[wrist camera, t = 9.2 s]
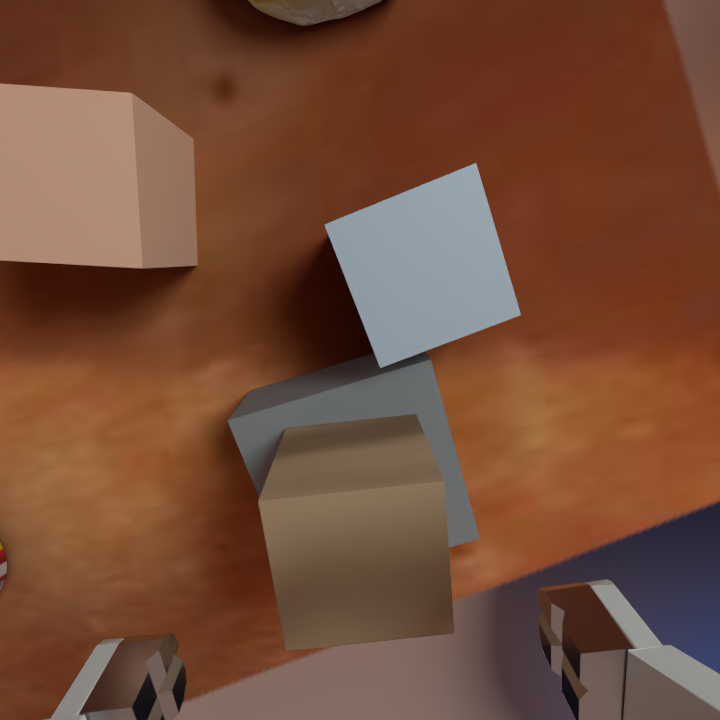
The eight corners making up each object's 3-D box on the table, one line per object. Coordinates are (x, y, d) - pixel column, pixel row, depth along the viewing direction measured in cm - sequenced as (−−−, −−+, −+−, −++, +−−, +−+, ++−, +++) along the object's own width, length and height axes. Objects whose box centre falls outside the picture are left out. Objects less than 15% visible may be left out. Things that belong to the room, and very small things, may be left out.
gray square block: (251, 388, 20) (227, 420, 16) (414, 338, 20) (430, 359, 16) (306, 530, 22) (296, 589, 18) (456, 487, 21) (480, 538, 18)
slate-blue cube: (331, 233, 18) (324, 224, 13) (441, 188, 18) (476, 163, 13) (372, 340, 19) (380, 368, 14) (477, 299, 19) (520, 315, 14)
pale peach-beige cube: (68, 131, 17) (-46, 80, 12) (194, 139, 17) (131, 93, 12) (80, 258, 18) (-19, 259, 13) (198, 265, 18) (142, 268, 13)
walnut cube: (285, 427, 16) (258, 500, 11) (416, 413, 16) (444, 481, 11) (303, 540, 17) (285, 651, 12) (425, 527, 17) (454, 633, 12)
